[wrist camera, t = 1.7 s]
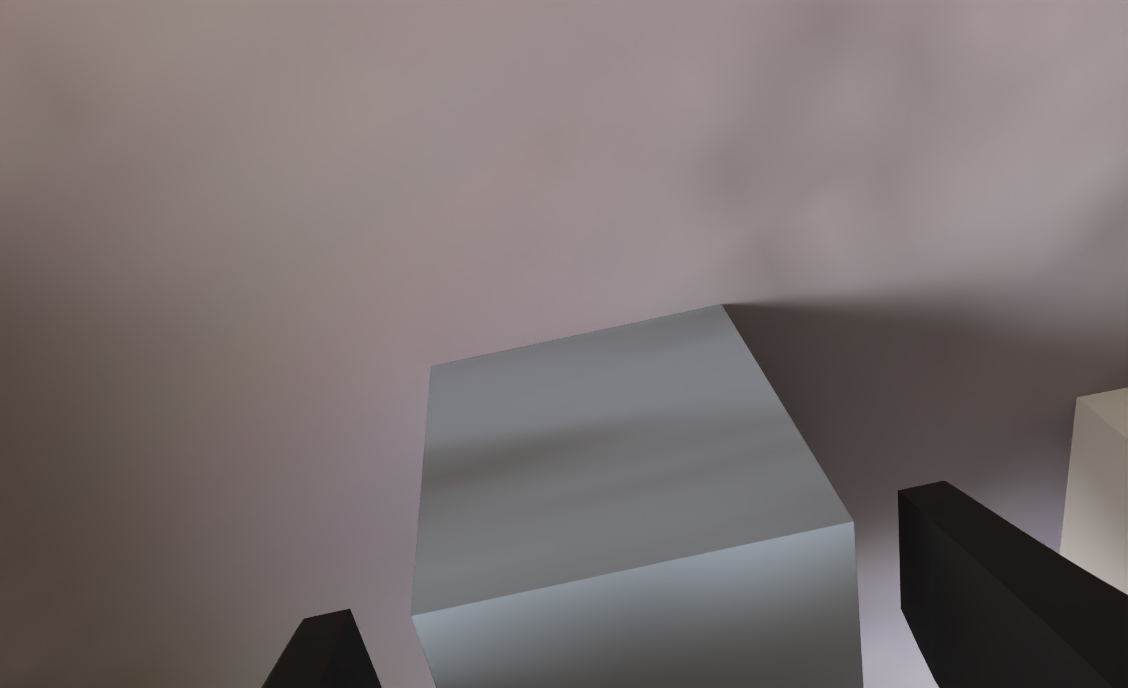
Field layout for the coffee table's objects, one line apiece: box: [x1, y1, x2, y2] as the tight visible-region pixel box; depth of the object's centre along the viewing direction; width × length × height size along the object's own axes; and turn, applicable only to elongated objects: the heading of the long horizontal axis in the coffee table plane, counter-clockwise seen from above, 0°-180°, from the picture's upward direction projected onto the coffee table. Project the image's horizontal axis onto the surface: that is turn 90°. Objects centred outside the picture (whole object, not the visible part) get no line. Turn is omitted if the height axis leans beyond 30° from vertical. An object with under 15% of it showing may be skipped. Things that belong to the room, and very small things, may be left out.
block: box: [411, 304, 863, 688], centre depth 13 cm, size 5×5×6 cm
